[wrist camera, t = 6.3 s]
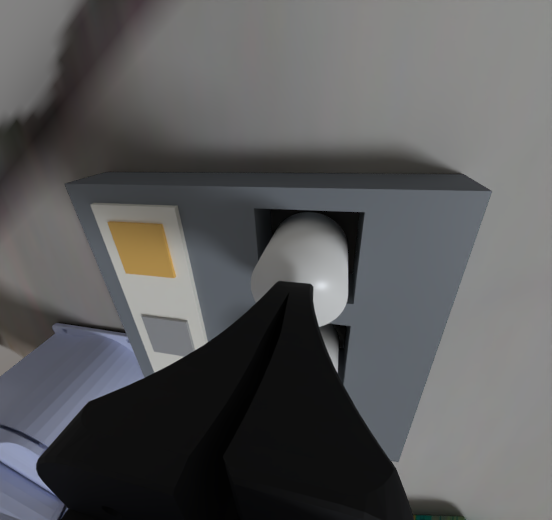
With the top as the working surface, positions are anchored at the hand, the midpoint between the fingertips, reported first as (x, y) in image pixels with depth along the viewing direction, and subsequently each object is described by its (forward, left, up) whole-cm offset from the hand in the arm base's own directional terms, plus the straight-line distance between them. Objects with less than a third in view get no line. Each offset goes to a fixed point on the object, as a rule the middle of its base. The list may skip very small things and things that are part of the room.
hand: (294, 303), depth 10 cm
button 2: (0, 0, -5) cm, 5 cm away
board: (-3, -7, -7) cm, 10 cm away
